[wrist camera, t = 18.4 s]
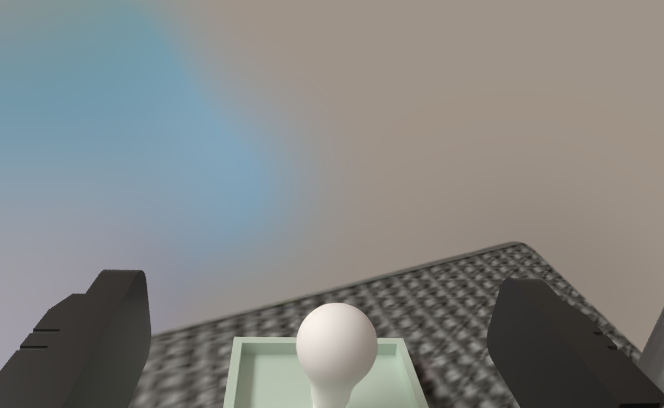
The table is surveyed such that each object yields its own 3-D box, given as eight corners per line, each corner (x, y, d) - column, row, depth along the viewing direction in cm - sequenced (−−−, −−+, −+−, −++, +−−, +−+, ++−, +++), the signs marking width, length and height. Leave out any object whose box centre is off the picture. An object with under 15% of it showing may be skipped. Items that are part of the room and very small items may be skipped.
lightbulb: (296, 387, 39) (305, 282, 34) (364, 396, 38) (381, 292, 34) (283, 449, 33) (292, 332, 29) (363, 460, 33) (384, 344, 28)
